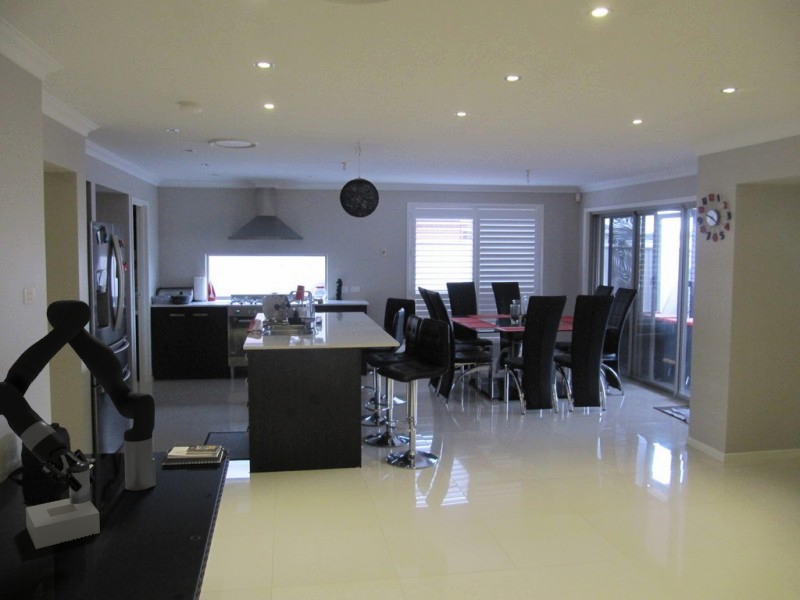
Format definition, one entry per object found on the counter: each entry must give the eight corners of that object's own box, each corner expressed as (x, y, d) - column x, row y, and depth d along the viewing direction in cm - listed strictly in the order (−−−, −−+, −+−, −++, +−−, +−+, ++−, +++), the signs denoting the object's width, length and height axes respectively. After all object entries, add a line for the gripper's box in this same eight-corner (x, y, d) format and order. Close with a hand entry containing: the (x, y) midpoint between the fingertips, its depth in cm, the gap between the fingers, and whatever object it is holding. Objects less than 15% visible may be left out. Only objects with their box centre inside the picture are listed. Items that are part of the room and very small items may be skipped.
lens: (88, 495, 169) (87, 460, 169) (92, 501, 165) (91, 464, 165) (67, 500, 166) (66, 464, 165) (71, 505, 162) (69, 468, 161)
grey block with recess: (86, 513, 189) (85, 494, 189) (99, 532, 175) (99, 512, 175) (26, 527, 180) (25, 507, 179) (35, 549, 165) (35, 527, 165)
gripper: (33, 439, 158) (78, 486, 158) (69, 425, 173) (110, 467, 172) (15, 458, 159) (59, 505, 159) (52, 442, 173) (93, 485, 173)
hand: (85, 485), depth 165 cm, fingers closed on lens, 5 cm apart
